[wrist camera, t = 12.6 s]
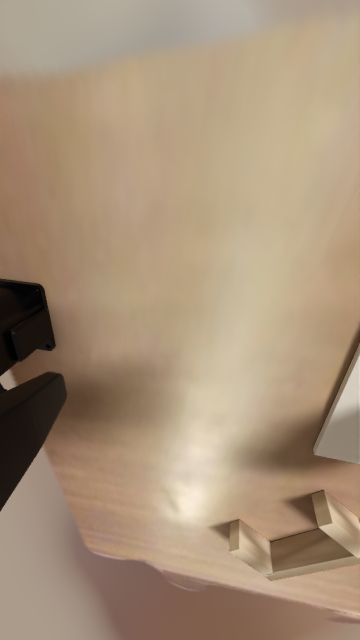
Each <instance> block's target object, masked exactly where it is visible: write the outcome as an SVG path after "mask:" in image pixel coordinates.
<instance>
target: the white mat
mask: <svg viewBox="0 0 360 640" xmlns="http://www.w3.org/2000/svg"><path fill="white" fill-rule="evenodd" d="M313 452H314V455H317V456H322V457H327V458H332V459H337V460H342V461H347V462H352V463H357V464H360V343H359V346H358V348H357V350H356V352H355V355H354V357H353V359H352V361H351V364H350V366H349V368H348V370H347V373H346V375H345V377H344V380H343V382H342V384H341V386H340V389H339V391H338V393H337V395H336V398H335V400H334V402H333V404H332V407H331V409H330V411H329V413H328V416H327V418H326V420H325V422H324V425H323V427H322V429H321V432H320V434H319V436H318V438H317V441H316V443H315V445H314V447H313Z"/></svg>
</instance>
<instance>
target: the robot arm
mask: <svg viewBox="0 0 360 640" xmlns="http://www.w3.org/2000/svg"><path fill="white" fill-rule="evenodd" d="M36 289H38V291H39V292H38V291H37V290H36ZM49 345H50V346H49ZM55 347H56V345H55V340H54V335H53V330H52V325H51V320H50V315H49V310H48V306H47V301H46V296H45V291H44V288H43V286H42V285H40V284H37V283H30V282H22V281H15V280H7V279H0V376H1V375H2V374H4V373H5V372H6V371H7V370H9V369H10V368H11V367H12V366H13V365H15V364H16V363H17V362H22V361H23V360H24V359H25V358H27V357H28V356H29V355H30V354H31V353H33V352H34V351H35V350H36V349H41V350H47V351H51V350H53V349H54V348H55ZM66 398H67V391H66V386H65V381H64V376H63V375H62V374H61V373H56V372H46V373H44V374H42V375H40V376H38V377H36V378H33V379H31V380H29V381H27V382H25V383H23V384H21V385H18V386H16V387H14V388H12V389H10V390H8V391H7V390H6V389H4V388H3V386H2V385H1V383H0V511H1V510H2V508H3V506H4V505H5V503H6V502H7V500H8V499H9V497H10V496H11V494H12V493H13V491H14V489H15V488H16V486H17V485H18V483H19V482H20V480H21V479H22V477H23V475H24V474H25V472H26V471H27V469H28V468H29V466H30V465H31V463H32V462H33V460H34V458H35V457H36V455H37V454H38V452H39V450H40V449H41V447H42V445H43V444H44V442H45V440H46V438H47V436H48V434H49V432H50V430H51V428H52V426H53V424H54V423H55V421H56V419H57V417H58V415H59V413H60V411H61V409H62V407H63V405H64V403H65V401H66Z"/></svg>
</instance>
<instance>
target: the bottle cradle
mask: <svg viewBox="0 0 360 640" xmlns="http://www.w3.org/2000/svg"><path fill="white" fill-rule="evenodd" d="M311 496H312V501H313V505H314V510H315V514H316V519H317V524H318V527H319V528H320V529H317V530H313V531H309V532H306V533H302V534H298V535H295V536H291V537H287V538H284V539H280V540H277V541H273V542H269V541H268V540H267V539H265V538H264V537H262V536H261V535H260V534H258V533H257V532H256V531H254V530H253V529H252V528H250V527H249V526H248V525H246V524H245V523H243V522H242V521H241V520H236V521H233V522H231V523H230V549H229V552H230V553H232V554H233V555H235V556H236V557H238V558H239V559H240V560H242V561H243V562H245V563H246V564H248V565H249V566H250V567H252V568H253V569H255V570H256V571H258V572H259V573H260V574H262V575H263V576H265V577H266V578H268V579H269V580H270V581H273V580H279V579H284V578H289V577H294V576H300V575H305V574H310V573H316V572H321V571H326V570H331V569H337V568H342V567H347V566H353V565H358V564H360V520H359V519H358V518H357V517H356V516H355V515H353V514H352V513H351V512H350V511H349V510H347V509H346V508H345V507H344V506H343V505H341V504H340V503H339V502H338V501H337V500H335V499H334V498H333V497H332V496H331V495H329V494H328V493H327V492H326V491H325V490H323V491H320V492H317V493H314V494H311Z"/></svg>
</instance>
